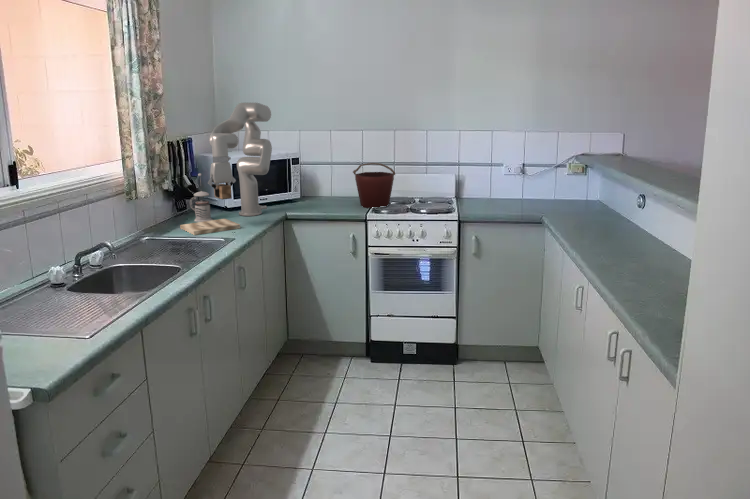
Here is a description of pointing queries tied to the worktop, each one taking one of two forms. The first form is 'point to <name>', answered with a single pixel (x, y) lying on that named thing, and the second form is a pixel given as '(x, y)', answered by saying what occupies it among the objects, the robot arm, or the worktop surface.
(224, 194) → the block
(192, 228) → the plywood board
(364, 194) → the bucket
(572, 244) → the worktop surface
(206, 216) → the french press
